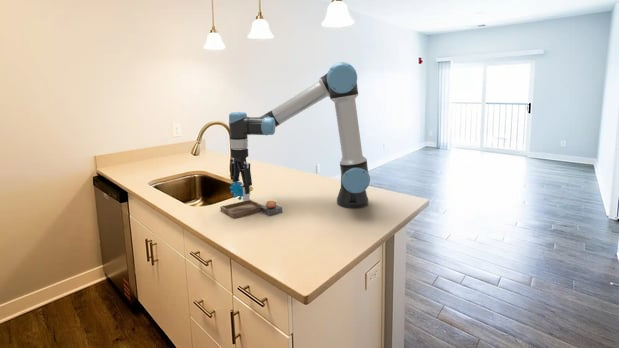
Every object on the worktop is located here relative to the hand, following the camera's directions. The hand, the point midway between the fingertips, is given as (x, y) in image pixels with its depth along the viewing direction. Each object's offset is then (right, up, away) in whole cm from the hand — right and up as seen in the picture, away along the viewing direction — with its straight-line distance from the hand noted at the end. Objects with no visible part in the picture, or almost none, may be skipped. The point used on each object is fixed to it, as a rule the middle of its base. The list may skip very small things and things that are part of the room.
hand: (241, 197), depth 158 cm
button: (+13, -5, -1) cm, 14 cm away
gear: (0, 0, 0) cm, 1 cm away
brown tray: (0, -6, +2) cm, 6 cm away
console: (+13, -6, 0) cm, 15 cm away
